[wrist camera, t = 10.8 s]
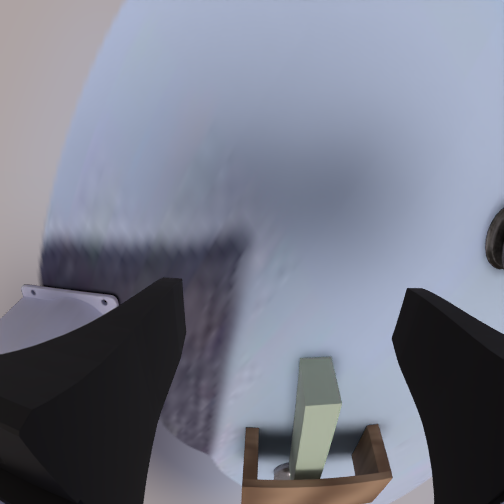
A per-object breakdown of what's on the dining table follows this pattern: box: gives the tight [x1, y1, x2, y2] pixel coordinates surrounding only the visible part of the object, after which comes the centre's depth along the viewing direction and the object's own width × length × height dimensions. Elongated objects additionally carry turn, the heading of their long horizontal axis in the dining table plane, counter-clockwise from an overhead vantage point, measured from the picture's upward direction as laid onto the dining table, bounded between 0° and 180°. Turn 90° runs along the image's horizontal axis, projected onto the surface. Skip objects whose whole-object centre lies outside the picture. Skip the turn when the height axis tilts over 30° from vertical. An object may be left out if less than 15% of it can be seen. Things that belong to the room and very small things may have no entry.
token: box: [274, 463, 290, 480], centre depth 30 cm, size 4×4×2 cm
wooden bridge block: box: [241, 424, 393, 504], centre depth 25 cm, size 13×6×7 cm, turn 88°
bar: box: [289, 357, 342, 480], centre depth 24 cm, size 2×16×5 cm, turn 2°
